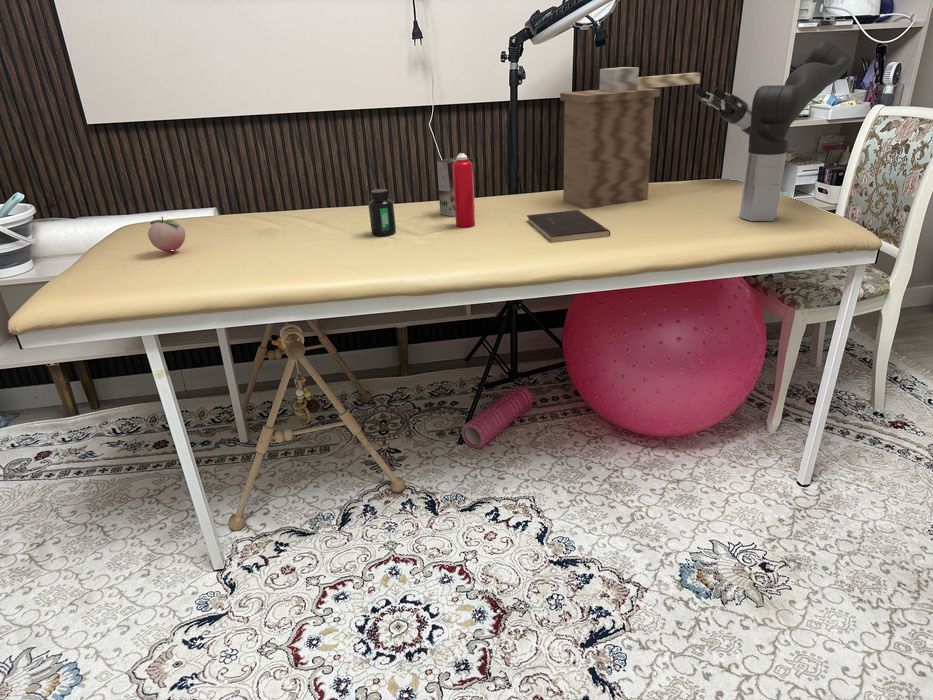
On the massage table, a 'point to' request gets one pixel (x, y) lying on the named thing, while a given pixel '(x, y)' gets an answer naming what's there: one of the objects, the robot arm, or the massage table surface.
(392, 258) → the massage table surface
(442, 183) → the coffee box
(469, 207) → the bottle
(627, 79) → the bar
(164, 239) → the decorative fruit
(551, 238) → the hardcover book
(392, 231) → the supplement bottle
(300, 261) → the massage table surface
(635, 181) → the plinth
